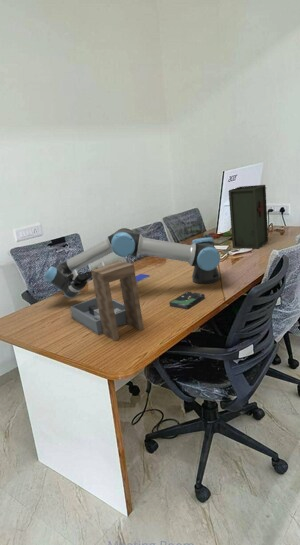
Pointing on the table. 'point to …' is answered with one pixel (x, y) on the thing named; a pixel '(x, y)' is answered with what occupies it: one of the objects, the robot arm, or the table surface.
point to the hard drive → (141, 277)
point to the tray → (85, 318)
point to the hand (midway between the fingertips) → (90, 268)
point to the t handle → (95, 311)
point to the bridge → (129, 294)
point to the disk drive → (187, 300)
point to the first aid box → (248, 216)
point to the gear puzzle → (218, 236)
